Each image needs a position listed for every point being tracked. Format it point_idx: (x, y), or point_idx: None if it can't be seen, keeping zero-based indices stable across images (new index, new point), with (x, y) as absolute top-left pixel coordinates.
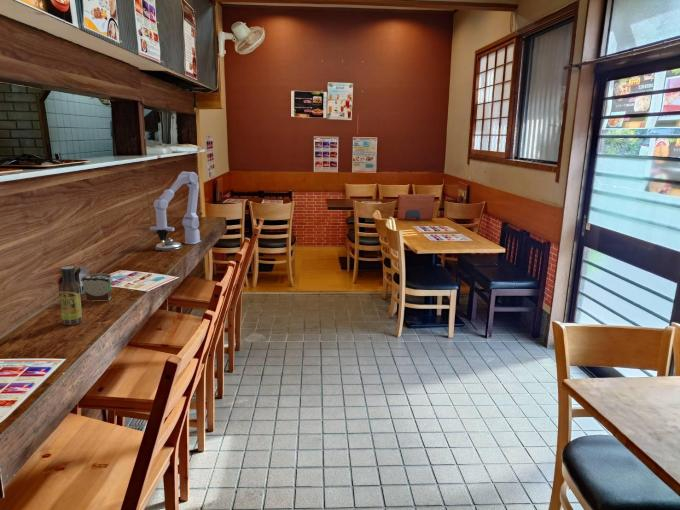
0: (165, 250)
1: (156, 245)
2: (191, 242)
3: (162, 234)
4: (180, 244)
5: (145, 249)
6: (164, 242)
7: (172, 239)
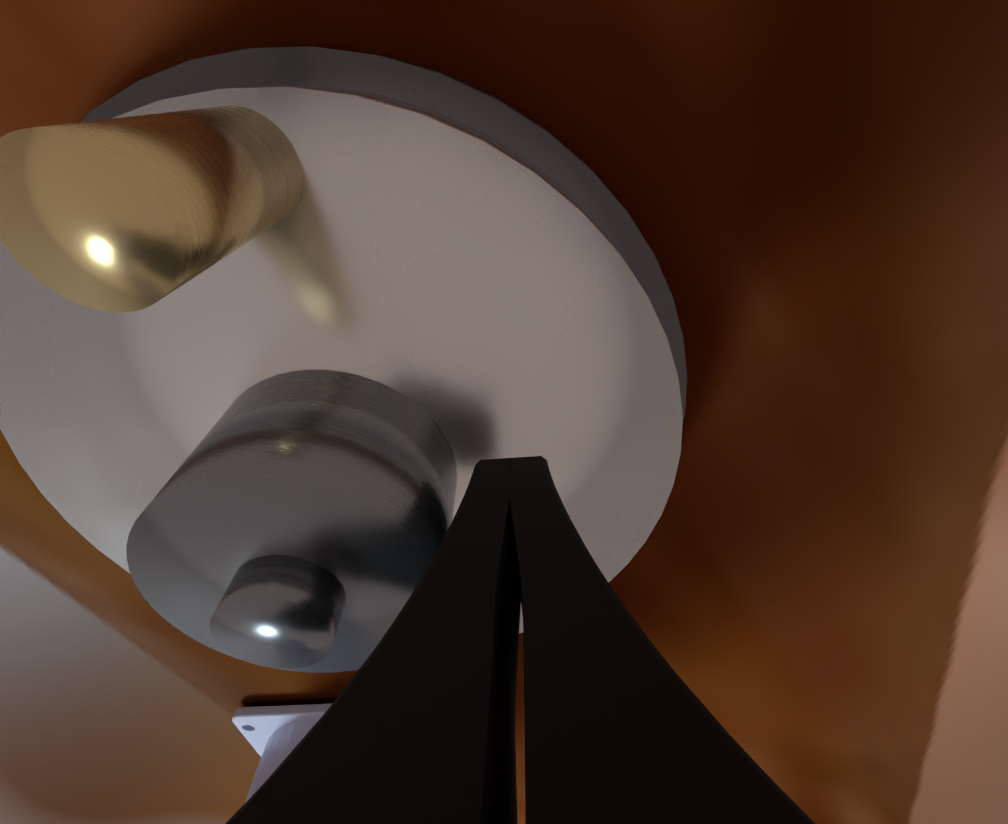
0: (157, 82)
1: (600, 247)
2: (287, 734)
3: (354, 758)
4: (94, 542)
5: (938, 102)
6: (380, 439)
7: (184, 622)
